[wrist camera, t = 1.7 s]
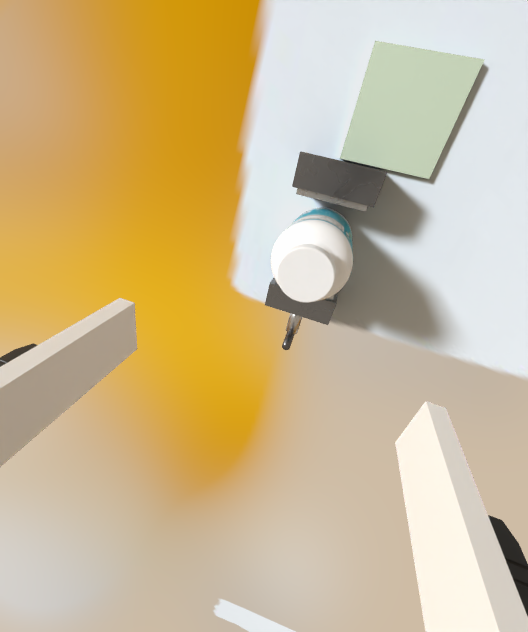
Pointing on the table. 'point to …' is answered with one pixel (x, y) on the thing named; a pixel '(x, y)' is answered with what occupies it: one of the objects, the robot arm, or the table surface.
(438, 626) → the robot arm
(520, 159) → the table surface
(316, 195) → the vise
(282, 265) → the pill bottle
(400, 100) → the pad
